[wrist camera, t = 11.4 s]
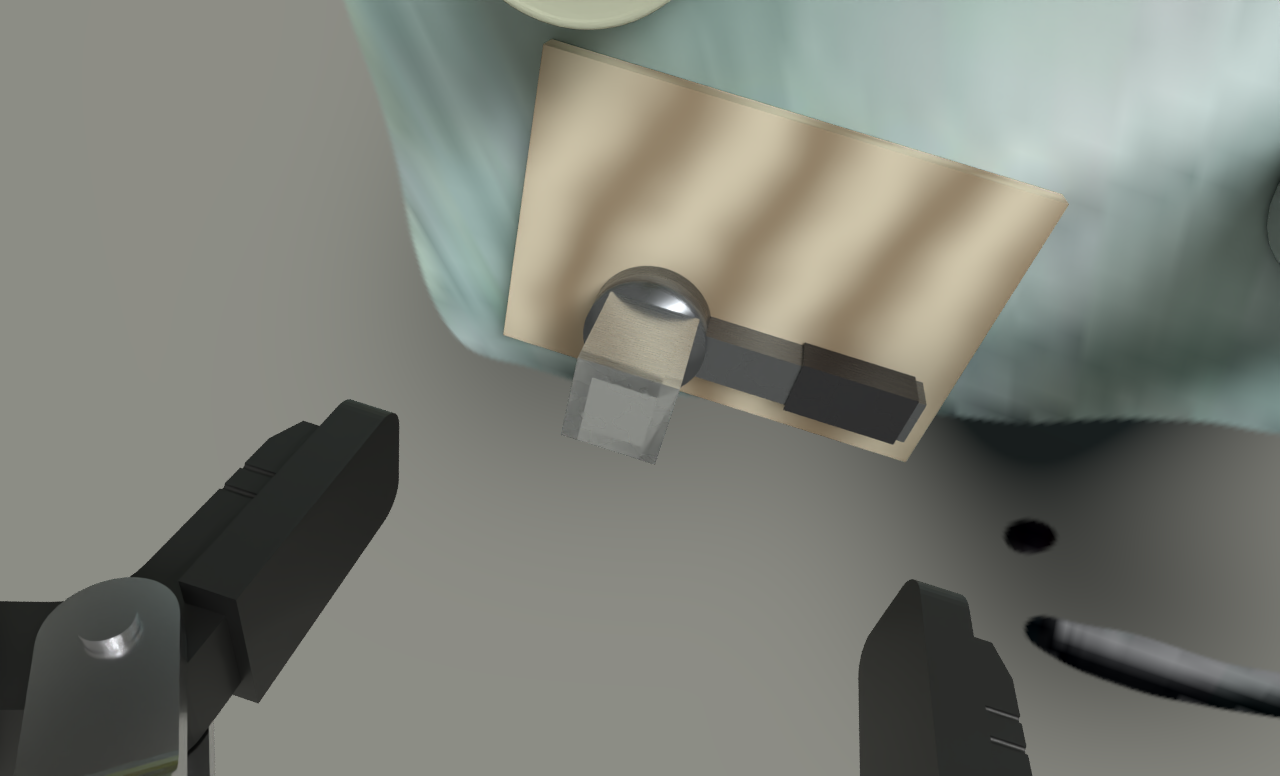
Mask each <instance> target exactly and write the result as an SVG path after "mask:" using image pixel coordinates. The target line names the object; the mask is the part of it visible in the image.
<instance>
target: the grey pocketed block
mask: <svg viewBox="0 0 1280 776" xmlns="http://www.w3.org/2000/svg"><path fill="white" fill-rule="evenodd" d="M699 320H700V319H697V318H694V317H691V316H688V315H684V314H681V313H678V312H675V311H672V310H668V309H665V308H662V307H659V306H656V305H652V304H649V303H646V302H643V301H640V300H636V299H633V298H630V297H627V296H624V295H620V294H617V293H614V292H610V294H609V296H608V298H607V300H606V302H605V304H604V306H603V308H602V310H601V312H600V314H599V316H598V318H597V320H596V322H595V324H594V326H593V328H592V330H591V332H590V334H589V336H588V338H587V340H586V342H585V344H584V346H583V348H582V350H581V352H580V354H579V356H578V359H577V363H576V368H575V372H574V377H573V382H572V386H571V391H570V395H569V400H568V405H567V409H566V414H565V418H564V423H563V428H562V432H561V435H564V436H567V437H570V438H573V439H577V440H579V441H583V442H586V443H589V444H592V445H595V446H598V447H601V448H604V449H608V450H611V451H614V452H617V453H620V454H623V455H626V456H630V457H633V458H636V459H639V460H642V461H645V462H648V463H652V464H655V462H656V459H657V456H658V453H659V450H660V447H661V444H662V441H663V438H664V435H665V432H666V430H667V427H668V424H669V421H670V417H671V415H672V412H673V409H674V406H675V403H676V400H677V397H678V394H679V391H680V387H681V384H682V380H683V377H684V373H685V370H686V366H687V363H688V359H689V356H690V352H691V349H692V345H693V341H694V338H695V334H696V331H697V327H698V324H699Z"/></svg>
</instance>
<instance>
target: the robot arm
mask: <svg viewBox="0 0 1280 776" xmlns="http://www.w3.org/2000/svg"><path fill="white" fill-rule="evenodd" d="M1267 231H1268V239H1269V245H1270V247H1271V249H1272V251H1273V253H1274V256H1275V258H1276V260H1277V261H1278V262H1279V264H1280V182H1279V184H1278V187H1277V189H1276V192H1275V194H1274V196H1273V199H1272V201H1271V204H1270V208H1269V215H1268V221H1267ZM398 481H399V419H398V416H397V415H396V414H395V413H392V412H388V411H385V410H382V409H379V408H376V407H373V406H369V405H366V404H363V403H360V402H357V401H354V400H351V399H350V400H345V401H344V402H342V403H341V404H340V405H339V406H338V407H337V408H336V409H335V410H334V411H333V412H332V414H330V415H329V417H328V418H327V419H326V420H325V421H324V422H323V423H322V424H321V425H320V426H318V425H314V424H312V423H308V422H305V421H302V422H300V423H298V424H296V425H295V426H292V427H291V428H288V429H286V430H284V431H283V432H281V433H279V434H277V435H275V436H273V437H271V438H269V439H268V440H267V441H266V442H265V443H264V444H263V445H262V446H261V447H260V448H259V449H258V450H257V451H256V452H255V453H254V454H253V455H252V456H251V457H250V459H248V460H247V461H246V462H245V466H244V468H239V470H238V471H237V472H236V473H235V474H234V475H233V476H232V477H231V478H230V479H229V480H228V481H227V482H226V483H225V486H224V488H223V489H219V490H218V491H217V492H216V493H215V494H214V495H213V496H212V497H211V498H210V499H209V500H208V501H207V502H206V503H205V504H204V505H203V506H202V507H201V508H200V509H199V510H198V511H197V512H196V513H195V514H194V515H193V516H192V517H191V518H190V519H189V520H188V521H187V522H186V523H185V524H184V525H183V526H182V527H181V528H180V530H179V531H178V532H176V534H175V535H173V537H172V538H171V539H170V540H169V541H168V542H167V543H166V544H165V545H164V546H163V547H162V548H161V549H160V550H159V551H158V552H157V553H156V554H155V555H154V556H153V557H152V558H151V559H150V560H149V561H148V562H147V563H146V564H145V565H144V566H143V567H142V568H140V569H139V570H138V571H137V572H136V573H134V574H133V575H132V576H130V577H125V578H117V579H112V580H108V581H104V582H100V583H97V584H94V585H92V586H89V587H87V588H85V589H83V590H81V591H79V592H77V593H76V594H74V595H72V596H71V597H69V598H67V599H66V600H65V601H62V602H8V601H5V602H4V601H0V776H215V751H214V750H215V749H214V723H213V720H214V719H215V718H216V716H217V715H218V713H219V712H220V711H221V709H222V708H223V707H224V705H225V704H226V703H227V701H228V700H229V698H230V697H231V696H232V695H235V696H238V697H241V698H244V699H247V700H250V701H253V702H256V703H259V702H260V700H261V699H262V697H263V696H264V695H265V693H266V692H267V690H268V689H269V687H270V686H271V684H272V683H273V681H274V680H275V679H276V677H277V676H278V674H279V673H280V671H281V670H282V669H283V667H284V665H285V664H286V663H287V661H288V660H289V658H290V657H291V655H292V654H293V653H294V651H295V650H296V648H297V647H298V645H299V644H300V642H301V641H302V639H303V638H304V637H305V635H306V634H307V632H308V631H309V629H310V628H311V626H312V625H313V623H314V622H315V621H316V619H317V618H318V616H319V615H320V613H321V612H322V611H323V609H324V608H325V606H326V605H327V603H328V602H329V600H330V599H331V598H332V596H333V595H334V593H335V592H336V590H337V589H338V587H339V586H340V584H341V583H342V582H343V580H344V579H345V577H346V576H347V574H348V573H349V571H350V570H351V569H352V567H353V566H354V564H355V563H356V561H357V560H358V558H359V557H360V555H361V554H362V553H363V551H364V549H365V548H366V547H367V545H368V544H369V542H370V541H371V540H372V538H373V537H374V535H375V534H376V532H377V531H378V529H379V528H380V526H381V525H382V524H383V522H384V520H385V519H386V517H387V516H388V514H389V512H390V510H391V507H392V505H393V502H394V500H395V497H396V493H397V489H398ZM858 680H859V732H860V733H859V736H860V738H859V739H860V776H1032V772H1031V768H1030V763H1029V758H1028V755H1027V754H1025V748H1026V743H1025V738H1024V733H1023V728H1022V724H1021V723H1019V717H1020V713H1019V709H1018V704H1017V699H1016V694H1015V689H1014V684H1013V679H1012V677H1011V676H1010V674H1009V672H1008V670H1007V669H1006V667H1005V665H1004V663H1003V662H1002V660H1001V658H1000V656H999V655H998V653H997V651H996V649H995V647H994V646H993V644H992V643H991V642H988V641H985V640H981V639H979V638H976V637H974V635H973V629H972V623H971V617H970V611H969V606H968V602H967V600H966V598H965V597H964V596H963V595H961V594H958V593H954V592H951V591H948V590H945V589H942V588H938V587H935V586H932V585H929V584H926V583H923V582H919V581H916V580H913V579H912V580H909V581H907V582H906V583H905V585H904V586H903V587H902V588H901V590H900V591H899V593H898V594H897V596H896V597H895V598H894V600H893V601H892V603H891V604H890V606H889V607H888V608H887V610H886V611H885V613H884V614H883V616H882V617H881V618H880V620H879V621H878V623H877V624H876V626H875V627H874V628H873V630H872V631H871V633H870V634H869V636H868V638H867V640H866V643H865V645H864V648H863V651H862V654H861V659H860V665H859V678H858Z"/></svg>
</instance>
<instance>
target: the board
mask: <svg viewBox="0 0 1280 776" xmlns="http://www.w3.org/2000/svg"><path fill="white" fill-rule="evenodd" d="M1068 205H1069V204H1068V202H1067V201H1066V199H1065V198H1064V196H1063V195H1062V194H1059V193H1056V192H1053V191H1050V190H1046V189H1043V188H1040V187H1036V186H1033V185H1030V184H1027V183H1023V182H1020V181H1017V180H1013V179H1010V178H1007V177H1004V176H1000V175H997V174H994V173H990V172H987V171H984V170H981V169H977V168H974V167H971V166H967V165H964V164H961V163H958V162H954V161H951V160H948V159H944V158H941V157H938V156H935V155H931V154H928V153H925V152H921V151H918V150H915V149H912V148H908V147H905V146H902V145H898V144H895V143H892V142H889V141H885V140H882V139H879V138H875V137H872V136H869V135H866V134H862V133H859V132H856V131H852V130H849V129H846V128H843V127H839V126H836V125H833V124H829V123H826V122H823V121H820V120H816V119H813V118H810V117H806V116H803V115H800V114H797V113H793V112H790V111H787V110H783V109H780V108H777V107H774V106H770V105H767V104H764V103H760V102H757V101H754V100H751V99H747V98H744V97H741V96H737V95H734V94H731V93H728V92H724V91H721V90H718V89H714V88H711V87H708V86H705V85H701V84H698V83H695V82H691V81H688V80H685V79H682V78H678V77H675V76H672V75H668V74H665V73H662V72H659V71H655V70H652V69H649V68H645V67H642V66H639V65H636V64H632V63H629V62H626V61H622V60H619V59H616V58H613V57H609V56H606V55H603V54H599V53H596V52H593V51H590V50H586V49H583V48H580V47H576V46H573V45H570V44H567V43H563V42H560V41H557V40H553V39H550V40H549V41H548V42H546V43H545V44H543V50H542V57H541V64H540V72H539V79H538V86H537V94H536V101H535V108H534V115H533V123H532V130H531V137H530V145H529V152H528V159H527V166H526V174H525V181H524V188H523V196H522V203H521V210H520V217H519V225H518V232H517V239H516V246H515V254H514V261H513V268H512V276H511V283H510V290H509V297H508V305H507V312H506V319H505V327H504V334H503V335H505V336H508V337H511V338H515V339H518V340H521V341H524V342H527V343H530V344H533V345H537V346H540V347H543V348H546V349H549V350H552V351H556V352H559V353H562V354H565V355H568V356H571V357H575V358H578V356H579V354H580V352H581V350H582V348H583V346H584V340H583V328H584V323H585V320H586V317H587V315H588V313H589V311H590V309H591V307H592V305H593V303H594V301H595V300H596V298H597V296H598V294H599V292H600V290H601V289H602V287H603V286H604V284H605V283H606V282H607V281H608V280H609V279H610V278H611V277H613V276H614V275H616V274H617V273H619V272H621V271H623V270H626V269H628V268H632V267H637V266H656V267H662V268H666V269H669V270H671V271H674V272H676V273H678V274H680V275H682V276H683V277H685V278H686V279H688V280H689V281H690V282H691V283H693V284H694V285H695V286H696V287H697V289H698V290H699V291H700V292H701V294H702V295H703V296H704V298H705V300H706V302H707V304H708V307H709V310H710V314H711V316H712V317H715V318H718V319H721V320H724V321H728V322H731V323H734V324H737V325H740V326H743V327H747V328H750V329H753V330H756V331H759V332H763V333H766V334H769V335H772V336H775V337H779V338H782V339H785V340H788V341H791V342H795V343H798V344H801V345H804V343H805V342H806V343H809V344H812V345H815V346H818V347H822V348H825V349H828V350H831V351H834V352H838V353H841V354H844V355H847V356H850V357H853V358H857V359H860V360H863V361H866V362H869V363H873V364H876V365H879V366H882V367H885V368H889V369H892V370H895V371H898V372H901V373H905V374H908V375H911V376H914V377H915V378H916V381H919V382H922V383H923V386H924V392H925V398H926V404H927V406H926V407H925V409H924V411H923V412H922V414H921V416H920V417H919V419H918V420H917V422H916V424H915V425H914V427H913V429H912V430H911V432H910V433H909V435H908V437H907V438H906V440H905V442H900V441H897V440H896V441H895V443H894V444H893V445H892V444H889V443H886V442H883V441H879V440H876V439H873V438H870V437H867V436H864V435H861V434H857V433H854V432H851V431H848V430H845V429H842V428H838V427H835V426H832V425H829V424H826V423H823V422H819V421H816V420H813V419H810V418H807V417H804V416H800V415H797V414H794V413H791V412H788V411H785V410H783V404H780V403H777V402H774V401H771V400H767V399H764V398H761V397H758V396H755V395H752V394H749V393H745V392H742V391H739V390H736V389H733V388H730V387H726V386H723V385H720V384H717V383H714V382H711V381H707V380H704V379H701V378H698V377H695V376H694V377H693V379H692V380H690V381H689V382H688V383H687V384H685V385H684V386H682V387H680V391H682V392H685V393H688V394H691V395H694V396H698V397H701V398H704V399H707V400H711V401H713V402H717V403H720V404H723V405H726V406H729V407H732V408H736V409H739V410H742V411H745V412H748V413H752V414H754V415H758V416H761V417H764V418H767V419H770V420H773V421H777V422H780V423H783V424H786V425H789V426H792V427H796V428H799V429H802V430H805V431H808V432H811V433H814V434H818V435H821V436H824V437H827V438H830V439H834V440H837V441H840V442H843V443H846V444H849V445H852V446H856V447H859V448H862V449H865V450H868V451H871V452H874V453H878V454H881V455H884V456H887V457H890V458H893V459H897V460H900V461H903V462H906V461H907V459H908V458H909V456H910V455H911V453H912V451H913V450H914V448H915V447H916V445H917V444H918V442H919V441H920V439H921V437H922V436H923V434H924V433H925V431H926V429H927V428H928V426H929V425H930V423H931V422H932V420H933V418H934V417H935V415H936V414H937V412H938V410H939V409H940V407H941V406H942V404H943V403H944V401H945V399H946V398H947V396H948V395H949V393H950V392H951V390H952V388H953V387H954V385H955V384H956V382H957V380H958V379H959V377H960V376H961V374H962V373H963V371H964V369H965V368H966V366H967V365H968V363H969V361H970V360H971V358H972V357H973V355H974V354H975V352H976V350H977V349H978V347H979V346H980V344H981V343H982V341H983V339H984V338H985V336H986V335H987V333H988V331H989V330H990V328H991V327H992V325H993V324H994V322H995V320H996V319H997V317H998V316H999V314H1000V312H1001V311H1002V309H1003V308H1004V306H1005V305H1006V303H1007V301H1008V300H1009V298H1010V297H1011V295H1012V294H1013V292H1014V290H1015V289H1016V287H1017V286H1018V284H1019V282H1020V281H1021V279H1022V278H1023V276H1024V275H1025V273H1026V271H1027V270H1028V268H1029V267H1030V265H1031V263H1032V262H1033V260H1034V259H1035V257H1036V256H1037V254H1038V252H1039V251H1040V249H1041V248H1042V246H1043V245H1044V243H1045V241H1046V240H1047V238H1048V237H1049V235H1050V233H1051V232H1052V230H1053V229H1054V227H1055V226H1056V224H1057V222H1058V221H1059V219H1060V218H1061V216H1062V214H1063V213H1064V211H1065V210H1066V208H1067V207H1068Z"/></svg>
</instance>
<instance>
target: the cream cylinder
mask: <svg viewBox="0 0 1280 776" xmlns="http://www.w3.org/2000/svg"><path fill="white" fill-rule="evenodd" d="M503 1H505V2H506V3H508V4H509V5H510V6H512V7H513V8H515V9H517V10H519V11H520V12H522V13H524V14H526V15H528V16H530V17H533V18H535V19H537V20H539V21H542V22H545V23H548V24H552V25H555V26H559V27H565V28H570V29H580V30H596V29H606V28H612V27H617V26H621V25H625V24H628V23H631V22H634V21H636V20H639V19H641V18H643V17H645V16H647V15H649V14H651V13H653V12H655V11H656V10H658V9H659V8H661V7H662V6H664V5H665V4H666V3H668V2H669V1H670V0H503Z"/></svg>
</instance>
